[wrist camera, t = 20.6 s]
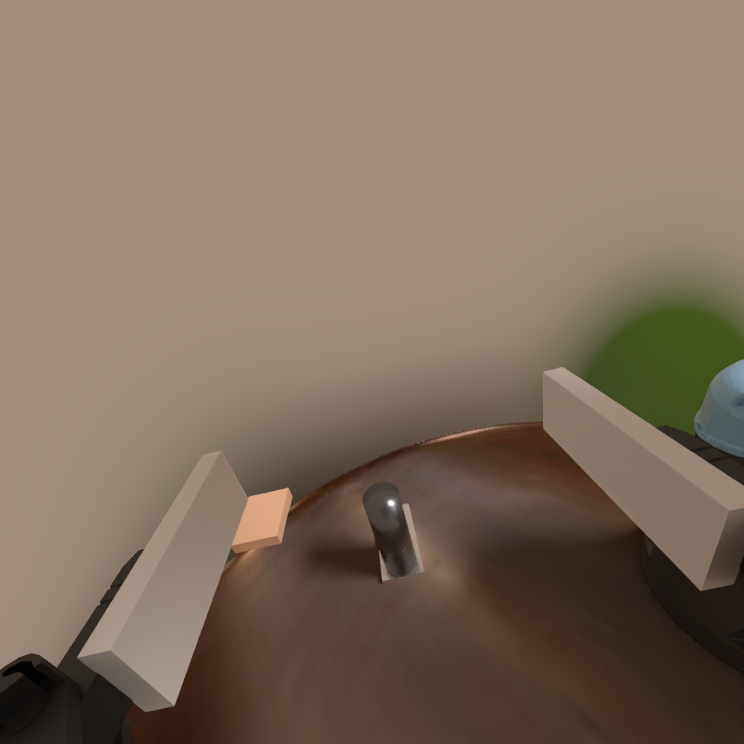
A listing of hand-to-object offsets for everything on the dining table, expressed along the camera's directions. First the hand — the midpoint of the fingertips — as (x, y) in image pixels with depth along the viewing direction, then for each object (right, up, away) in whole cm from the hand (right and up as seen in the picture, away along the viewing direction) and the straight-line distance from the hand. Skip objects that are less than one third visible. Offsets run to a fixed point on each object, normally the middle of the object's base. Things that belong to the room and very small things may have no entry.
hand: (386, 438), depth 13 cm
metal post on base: (+3, -20, +29) cm, 35 cm away
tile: (-17, -22, +33) cm, 43 cm away
